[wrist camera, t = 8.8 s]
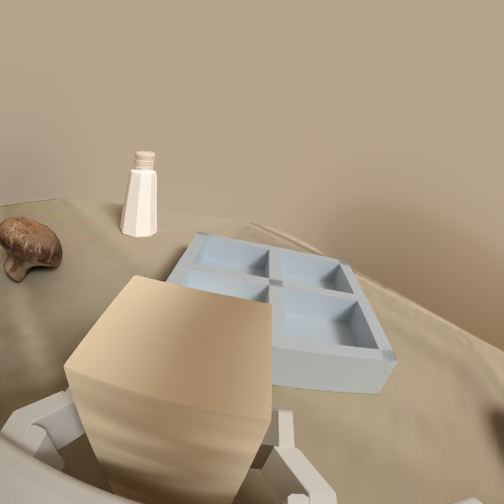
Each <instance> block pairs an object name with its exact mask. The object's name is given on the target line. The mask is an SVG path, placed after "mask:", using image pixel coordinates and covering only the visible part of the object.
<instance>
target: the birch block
mask: <svg viewBox="0 0 504 504" xmlns="http://www.w3.org/2000/svg"><path fill="white" fill-rule="evenodd" d="M64 370H65V373H66V377H67V380H68V383H69V387H70V390H71V393H72V396H73V399H74V402H75V405H76V408H77V411H78V413H79V416H80V419H81V422H82V424H83V427H84V429H85V432H86V434H87V437H88V439H89V442H90V444H91V446H92V449H93V451H94V453H95V455H96V458H97V460H98V462H99V464H100V466H101V468H102V470H103V472H104V474H105V476H106V478H107V480H108V482H109V484H110V486H111V488H112V490H113V492H114V494H115V495H118V496H121V497H123V498H126V499H129V500H133V501H136V502H139V503H142V504H232V502H233V500H234V498H235V496H236V494H237V492H238V490H239V488H240V486H241V484H242V482H243V480H244V478H245V476H246V474H247V472H248V470H249V468H250V466H251V464H252V462H253V460H254V458H255V456H256V453H257V451H258V449H259V447H260V445H261V443H262V440H263V438H264V436H265V434H266V432H267V429H268V427H269V425H270V423H271V415H272V304H269V303H263V302H258V301H253V300H248V299H243V298H238V297H233V296H228V295H223V294H218V293H213V292H208V291H203V290H199V289H194V288H190V287H185V286H180V285H176V284H171V283H167V282H163V281H158V280H154V279H150V278H145V277H141V276H137V275H134V277H133V278H132V279H131V280H130V281H129V283H128V284H127V285H126V286H125V287H124V289H123V290H122V291H121V292H120V293H119V295H118V296H117V297H116V298H115V299H114V301H113V302H112V303H111V304H110V306H109V307H108V308H107V309H106V311H105V312H104V313H103V314H102V316H101V317H100V318H99V319H98V321H97V322H96V323H95V325H94V326H93V327H92V328H91V330H90V331H89V332H88V334H87V335H86V336H85V338H84V339H83V340H82V341H81V343H80V344H79V345H78V347H77V348H76V349H75V351H74V352H73V354H72V355H71V356H70V358H69V359H68V360H67V362H66V363H65V364H64Z"/></svg>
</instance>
